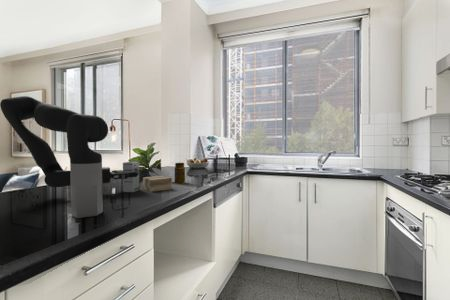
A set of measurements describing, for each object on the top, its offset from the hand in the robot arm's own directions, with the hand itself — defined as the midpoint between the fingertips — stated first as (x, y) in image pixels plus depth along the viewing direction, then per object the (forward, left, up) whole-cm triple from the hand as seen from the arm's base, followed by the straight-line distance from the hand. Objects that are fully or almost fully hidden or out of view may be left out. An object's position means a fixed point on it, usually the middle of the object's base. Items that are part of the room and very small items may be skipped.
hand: (135, 173), depth 119 cm
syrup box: (0, +2, -9) cm, 9 cm away
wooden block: (0, -11, -9) cm, 14 cm away
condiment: (+11, -26, -9) cm, 29 cm away
